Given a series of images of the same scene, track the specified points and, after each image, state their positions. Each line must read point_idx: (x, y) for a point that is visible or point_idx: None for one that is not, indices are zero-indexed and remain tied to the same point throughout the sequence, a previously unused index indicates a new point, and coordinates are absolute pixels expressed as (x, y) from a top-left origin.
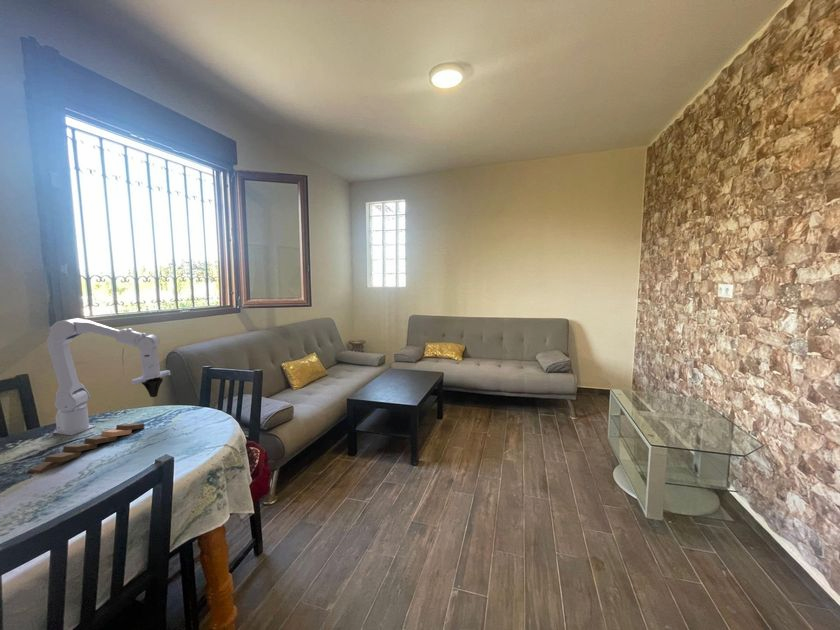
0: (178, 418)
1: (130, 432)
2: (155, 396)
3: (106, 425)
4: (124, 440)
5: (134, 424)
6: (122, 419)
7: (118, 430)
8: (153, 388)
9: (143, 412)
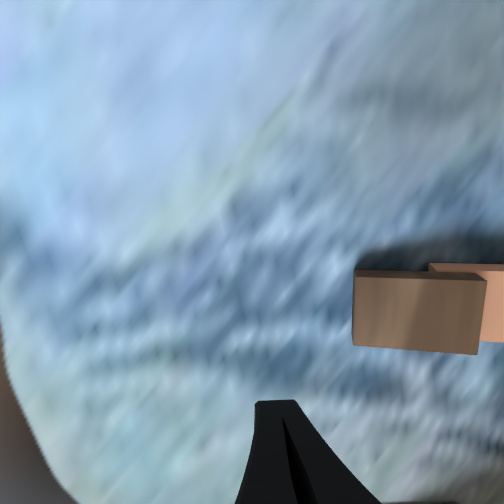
0: (183, 197)
1: (436, 265)
2: (277, 402)
3: None
4: (493, 221)
5: (406, 300)
6: None
7: (495, 301)
8: (357, 498)
9: (171, 483)
